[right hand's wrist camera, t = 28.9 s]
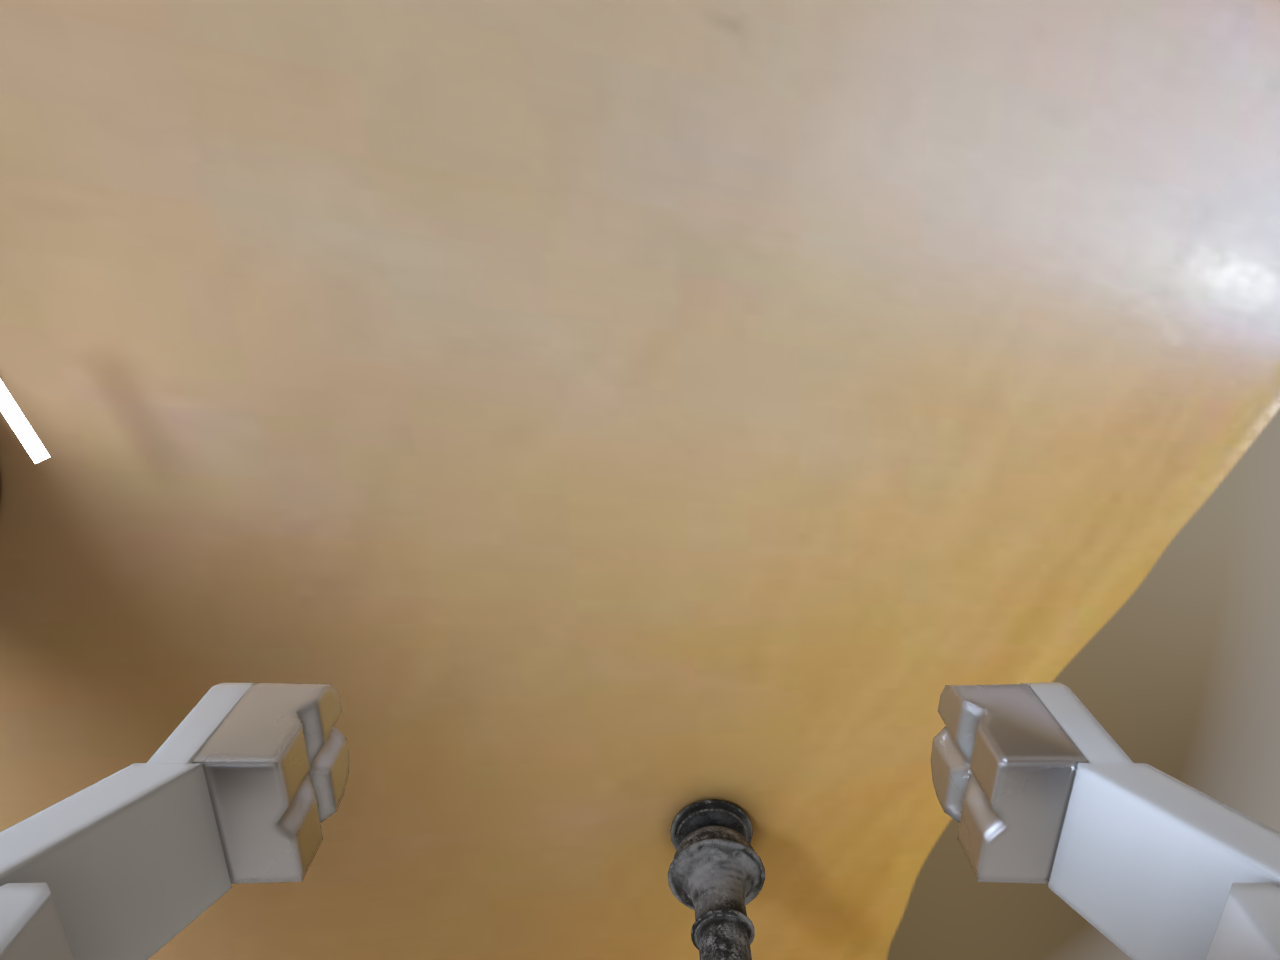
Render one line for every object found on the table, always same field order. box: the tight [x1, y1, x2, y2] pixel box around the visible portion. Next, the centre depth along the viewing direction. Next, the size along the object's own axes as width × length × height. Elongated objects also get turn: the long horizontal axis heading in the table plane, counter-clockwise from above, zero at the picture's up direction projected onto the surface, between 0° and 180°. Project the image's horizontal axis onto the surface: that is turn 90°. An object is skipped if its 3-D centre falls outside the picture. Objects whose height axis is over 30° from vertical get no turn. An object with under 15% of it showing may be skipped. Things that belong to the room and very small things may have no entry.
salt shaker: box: [668, 800, 765, 960], centre depth 45 cm, size 6×6×12 cm
